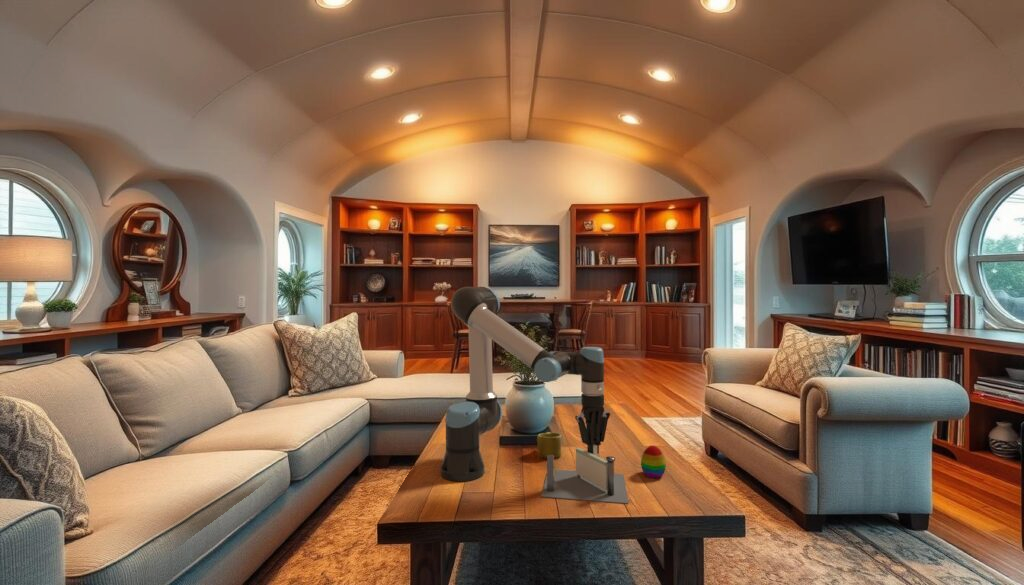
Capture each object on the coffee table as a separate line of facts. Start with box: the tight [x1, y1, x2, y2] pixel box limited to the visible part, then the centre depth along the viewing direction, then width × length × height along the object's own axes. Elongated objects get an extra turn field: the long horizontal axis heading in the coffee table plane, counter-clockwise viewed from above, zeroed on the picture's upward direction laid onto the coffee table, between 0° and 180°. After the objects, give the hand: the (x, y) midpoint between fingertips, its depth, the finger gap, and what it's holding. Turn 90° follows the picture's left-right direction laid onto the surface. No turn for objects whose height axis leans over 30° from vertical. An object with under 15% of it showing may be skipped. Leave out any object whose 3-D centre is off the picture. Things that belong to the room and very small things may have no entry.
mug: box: [536, 431, 563, 459], centre depth 179 cm, size 12×10×10 cm
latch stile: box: [546, 455, 557, 491], centre depth 147 cm, size 3×3×11 cm
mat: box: [540, 469, 629, 505], centre depth 151 cm, size 26×22×1 cm
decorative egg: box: [640, 445, 667, 479], centre depth 160 cm, size 8×8×10 cm
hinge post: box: [605, 456, 616, 496], centre depth 143 cm, size 3×3×12 cm
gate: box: [575, 447, 607, 490], centre depth 151 cm, size 15×2×9 cm, turn 30°
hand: (593, 463), depth 155 cm, fingers closed
